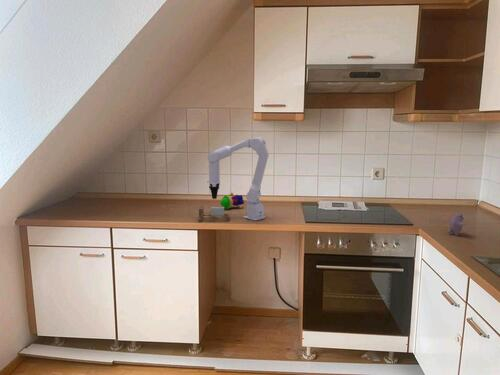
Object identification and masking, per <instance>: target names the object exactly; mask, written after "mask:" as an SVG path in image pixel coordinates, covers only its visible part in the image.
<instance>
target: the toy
mask: <svg viewBox="0 0 500 375" xmlns="http://www.w3.org/2000/svg"><path fill="white" fill-rule="evenodd" d="M243 198H244V197H243V195H242V194H239V195H238V194H235V195H234V192H230V193H229V194H228V195H227V194H226V195H223V197H222V198H221V200H220V206H221V207H224V210H228V209H230V208H231V207H232V206H236V207H238V206H239V209H243V208H244V206H243V205H244V204H245V201H244V199H243Z"/></svg>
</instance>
